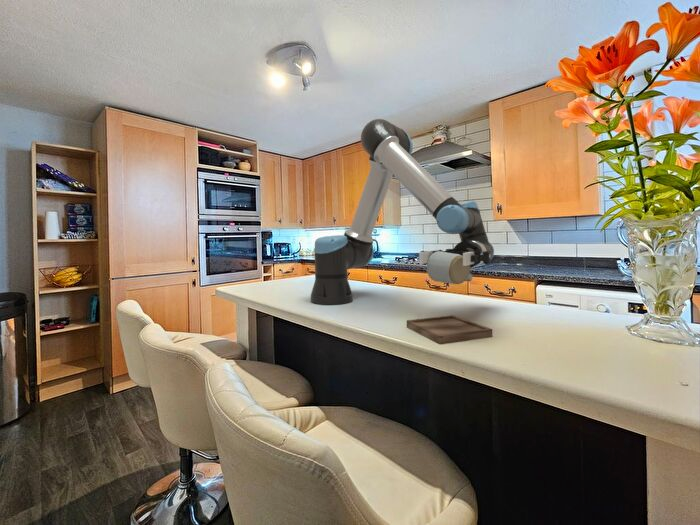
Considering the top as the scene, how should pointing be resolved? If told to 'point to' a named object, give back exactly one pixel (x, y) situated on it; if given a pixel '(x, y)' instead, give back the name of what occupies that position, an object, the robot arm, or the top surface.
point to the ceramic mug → (448, 268)
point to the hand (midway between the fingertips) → (441, 258)
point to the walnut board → (448, 329)
